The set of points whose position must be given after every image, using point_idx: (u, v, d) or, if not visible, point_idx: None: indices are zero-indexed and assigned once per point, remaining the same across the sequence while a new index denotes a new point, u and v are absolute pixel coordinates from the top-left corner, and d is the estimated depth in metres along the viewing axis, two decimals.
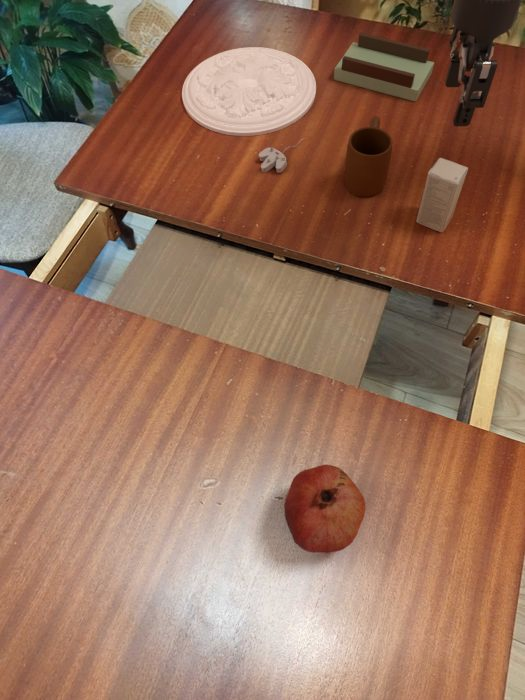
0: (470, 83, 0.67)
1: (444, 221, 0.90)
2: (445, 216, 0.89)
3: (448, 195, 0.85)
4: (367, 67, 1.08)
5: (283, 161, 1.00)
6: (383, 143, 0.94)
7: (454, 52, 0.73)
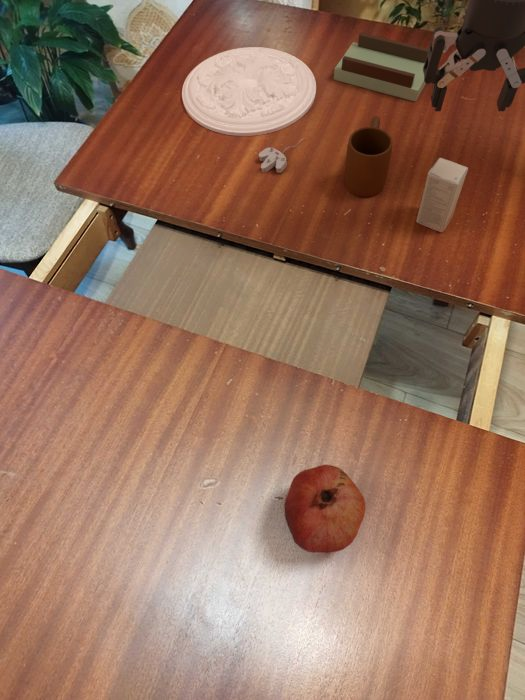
0: None
1: (444, 221, 0.90)
2: (445, 216, 0.89)
3: (448, 195, 0.85)
4: (367, 67, 1.08)
5: (283, 161, 1.00)
6: (383, 143, 0.94)
7: None
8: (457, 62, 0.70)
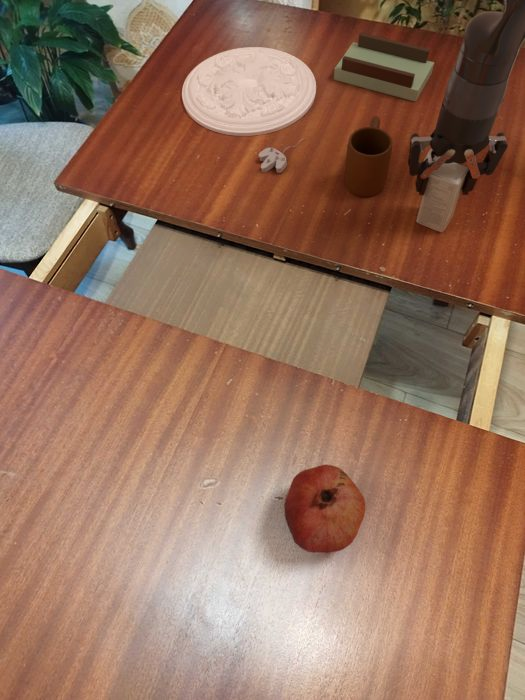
0: (498, 158, 0.80)
1: (444, 221, 0.90)
2: (445, 216, 0.89)
3: (448, 195, 0.85)
4: (367, 67, 1.08)
5: (283, 161, 1.00)
6: (383, 143, 0.94)
7: None
8: (434, 157, 0.83)
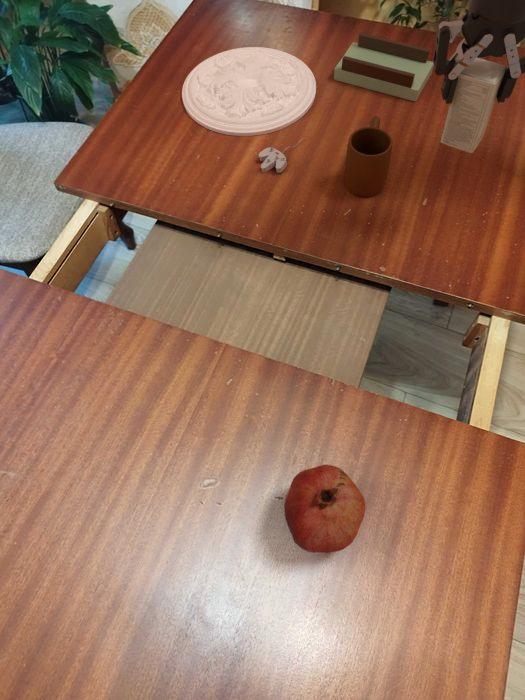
0: None
1: (475, 137, 0.75)
2: (477, 130, 0.75)
3: (482, 101, 0.71)
4: (367, 67, 1.08)
5: (283, 161, 1.00)
6: (383, 143, 0.94)
7: None
8: (466, 51, 0.68)
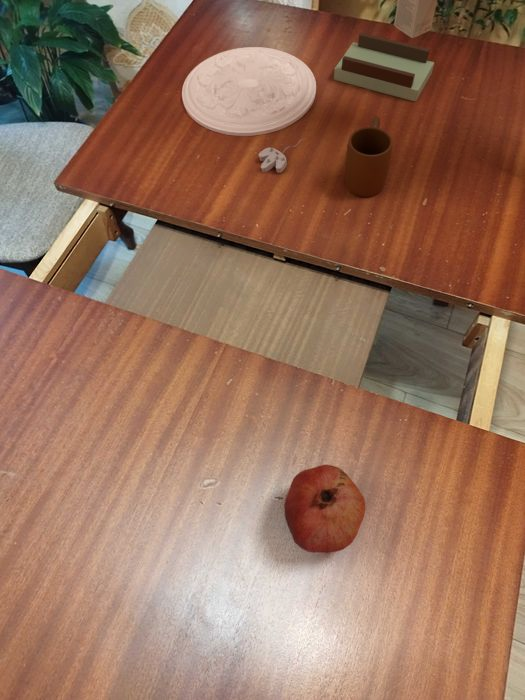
0: None
1: (414, 21, 0.89)
2: (415, 14, 0.88)
3: None
4: (367, 67, 1.08)
5: (283, 161, 1.00)
6: (383, 143, 0.94)
7: None
8: None
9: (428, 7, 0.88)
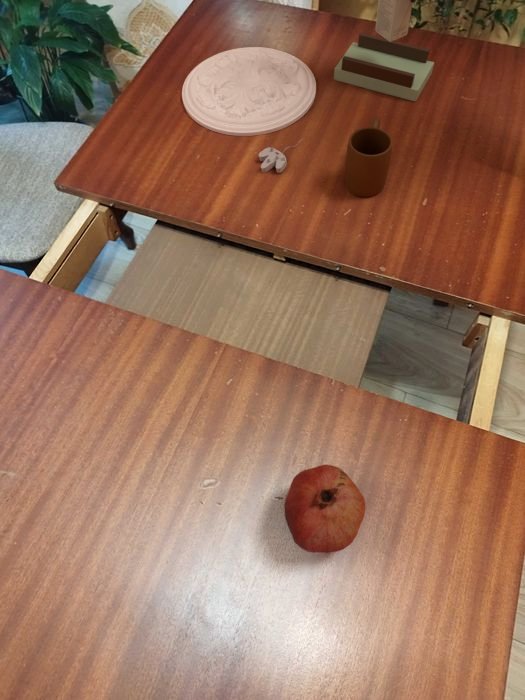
0: None
1: (391, 27, 1.02)
2: (392, 21, 1.01)
3: None
4: (367, 67, 1.08)
5: (283, 161, 1.00)
6: (383, 143, 0.94)
7: None
8: None
9: (403, 15, 1.01)
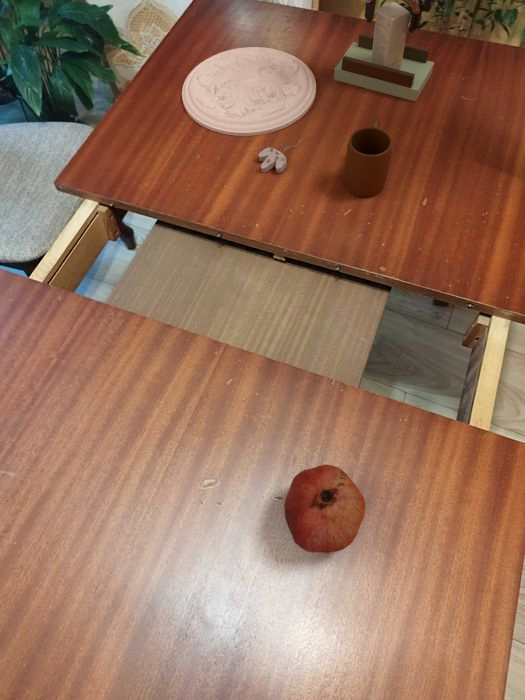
0: None
1: (386, 61, 1.08)
2: (386, 56, 1.07)
3: (387, 32, 1.03)
4: (367, 67, 1.08)
5: (283, 161, 1.00)
6: (383, 143, 0.94)
7: None
8: None
9: (397, 50, 1.07)
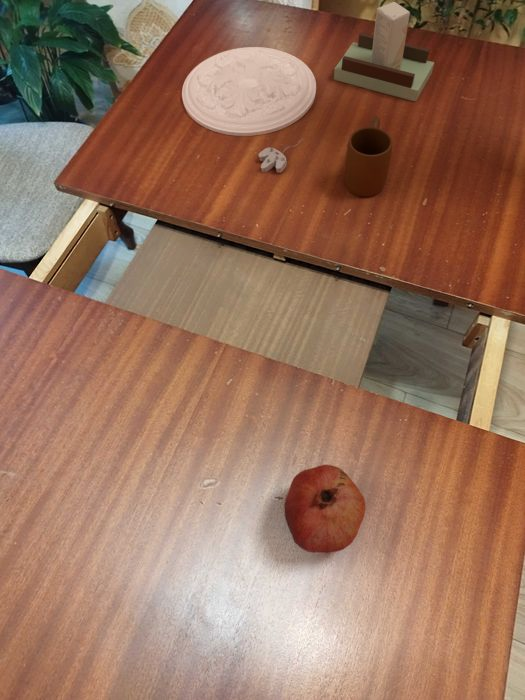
0: None
1: (386, 61, 1.08)
2: (386, 56, 1.07)
3: (387, 32, 1.03)
4: (367, 67, 1.08)
5: (283, 161, 1.00)
6: (383, 143, 0.94)
7: None
8: None
9: (397, 50, 1.07)
